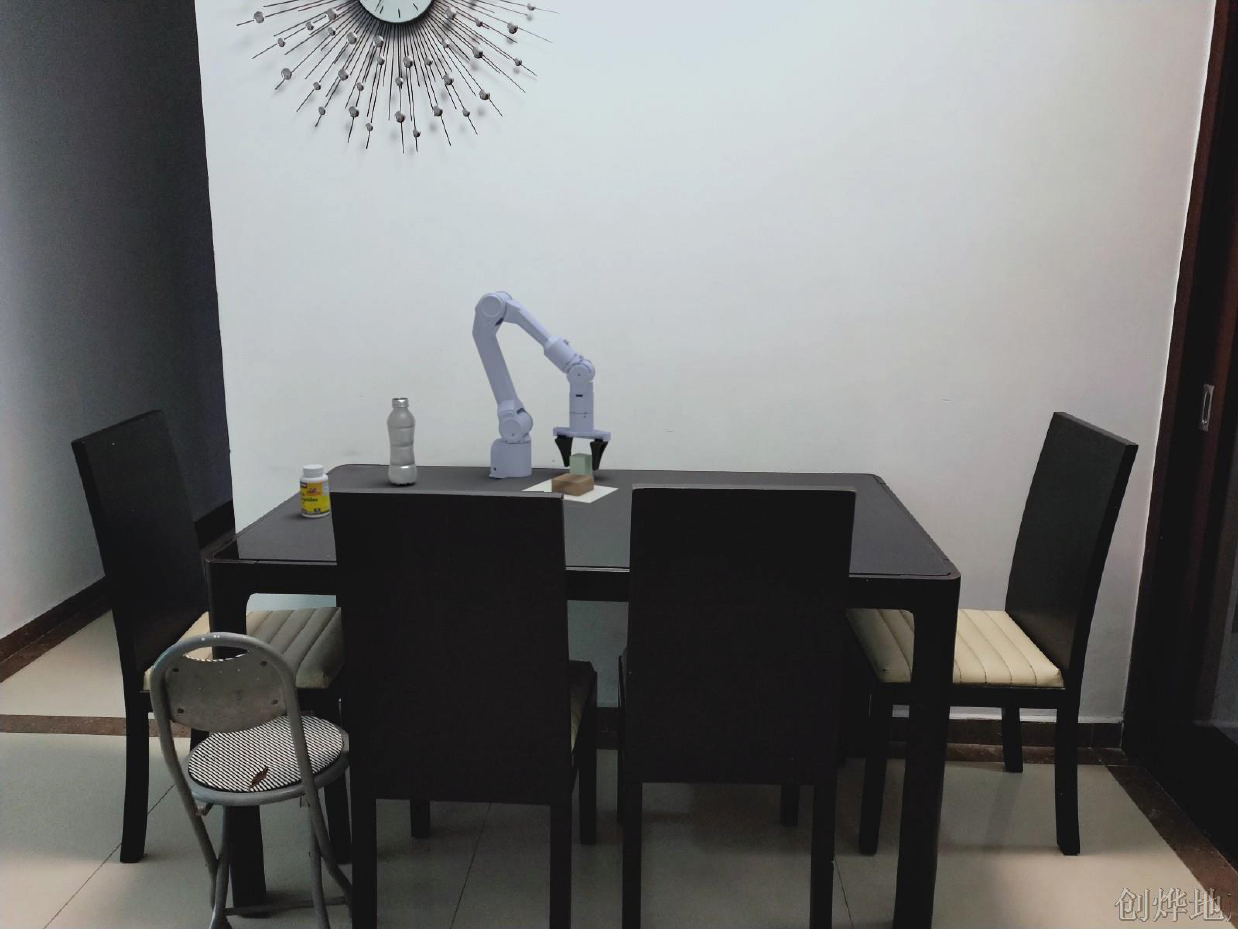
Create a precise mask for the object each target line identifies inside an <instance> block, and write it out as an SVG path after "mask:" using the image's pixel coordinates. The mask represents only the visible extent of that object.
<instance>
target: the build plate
mask: <svg viewBox="0 0 1238 929" xmlns="http://www.w3.org/2000/svg"><path fill="white" fill-rule="evenodd" d="M551 479H552V478H550V479H548V480H545V481H542V482H540V483H538V484H534V485H533V486H530V487H527V488H525V489H523V490H522V491H544V492H551ZM617 490H619V487H617V488H616V487H609V486H603V485H596V484H594V490H592V491H590V492H587V493H585V494H583V495H581V496H572V495H565V494H564V499H563V500H566V501H567V500H568V501H573V502H580V503H581V502H582V503H587V504H590V503H592V502H595V501H596V500H599V499H601V498H602V497H605V496H607V495H609V494H610V493H613V492H614V491H617Z"/></svg>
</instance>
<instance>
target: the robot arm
mask: <svg viewBox="0 0 1238 929" xmlns="http://www.w3.org/2000/svg"><path fill="white" fill-rule="evenodd" d="M503 323H510V324H516V325H517V326H519V327H520V328H521V329H522V330H523V331H525V332H526V333H527V334H528V335H529V336H530V337H531V338H533V339H534V340H535V341H536V342H537V343H538V344H539V345H541V347H542V348H543V355H544V356H545V357H546V358H547V359H548V360H549V361H550V362H551V363H552V364H553V365H554V366H555V367H556V368H557V369H558V370H560V372H561V373H563V374H566V380H567V382H568V383H569V393H568V398H569V399H568V401H569V402H568V403H569V404H568V405H569V407H568V410H569V412H568V414H569V415H568V416H569V417H568V418H569V420H568V421H569V424H568V425H569V427H567V426H565V427H564V426H555V427H553V428H552V436H553V437H556V438H554V443H555V445H556V446H557V448H558V450H559V453H560V456H561V459H562V462H563V467H564V468H569V467H570V456H571V455H572V447H573V442H574V439H575V438H577V439H586V440H592V441H590V442H589V446H590V451H591V455H592V472H593V471H594V472H595V471H598V470H599V469H600V465H601V462H602V459H603V458H602V457H603V455H604V452H605V450H606V448H607V446H608V444H609V442H610V441H611V432H610V431H604V430H599V429H595V428H594V426H595V425H594V421H595V420H594V417H595V416H594V415H595V414H594V413H595V409H594V407H595V406H594V405H595V404H594V399H595V398H594V397H595V395H594V382H593V380H594V378H595V375H596V368H595V365H594V364H593V363H592V361H591V360H590V359H586V358H585V355H583V353H581V354H579V353H578V352H577V351H576V350H575V349H574V348H573V347H572V346H571V345H570V341H569V339H568V338H563V337H561V336H553V335H552V334H551V333H550V332H549V331H548V330H547V329H546V328H545V327H544V326H543V325H542V323H540V322H539V321H538V320H537V319H536V317H534V316H533V314H531V312H530V311H528V310H527V308H525V307H524V306H523V304H522V303H520V301H518V300H517V299H515V298H513V297H512V295H511V294H510V293H508V292H507V291H503V290H501V291H500V290H499V291H495V292H487V293H485V294H484V295H482V296H481V297H480V299H479V300H478V302H477V303H476V305H475V307H474V320H473V324H472V325H473V326H472V332H471V334H472V339H473V341H474V343H475V345H476V346H475V347H476V348H477V352H478V355H479V358H480V361H481V363H482V365H483V369H484V372H485V374H486V377H487V379H488V383H489V385H490V388H491V391H492V394H493V396H494V399H495V401H496V405H497V410H496V415H497V418H498V419H497V420H498V433H499V435H500V438H496V439H494V441H493V442H492V443H491V447H490V474H489V475H488V476H489V478H496V479H497V478H498V479H506V478H508V477H509V478H511V477H512V478H523V477H524V478H525V477H528V476H530V475H532V471H533V469H532V465H533V464H532V463H533V462H532V437H531V436H530V432H531V431H532V429H533V426H534V419H533V417H532V415H531V414H530V413H529V412H528V411H527V409H526V408H525V405H524V403H523V402H522V401H521V399H519V397H518V394H517V392H516V389H515V385H514V382H513V380H512V377H511V374H510V372H509V369H508V366H507V364H506V361H505V358H504V354H503V352H502V349H501V347H500V343H499V340H498V338H497V333H498V331H499V330H500V328H501V326H502V324H503Z"/></svg>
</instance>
